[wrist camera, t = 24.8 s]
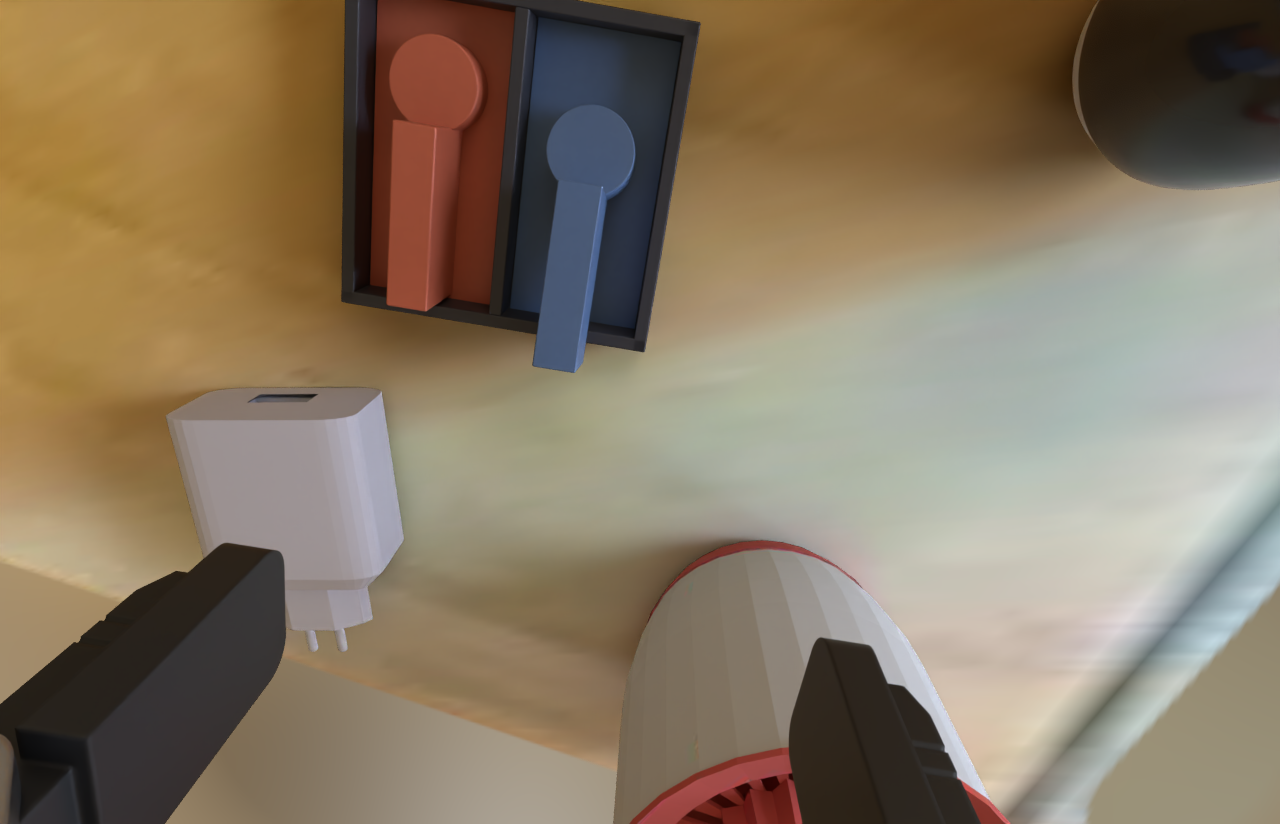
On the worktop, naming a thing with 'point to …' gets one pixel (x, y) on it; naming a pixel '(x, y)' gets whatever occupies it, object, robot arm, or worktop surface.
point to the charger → (296, 491)
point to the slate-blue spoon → (578, 225)
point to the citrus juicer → (748, 687)
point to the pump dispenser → (1183, 90)
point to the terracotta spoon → (428, 164)
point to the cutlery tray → (521, 151)
